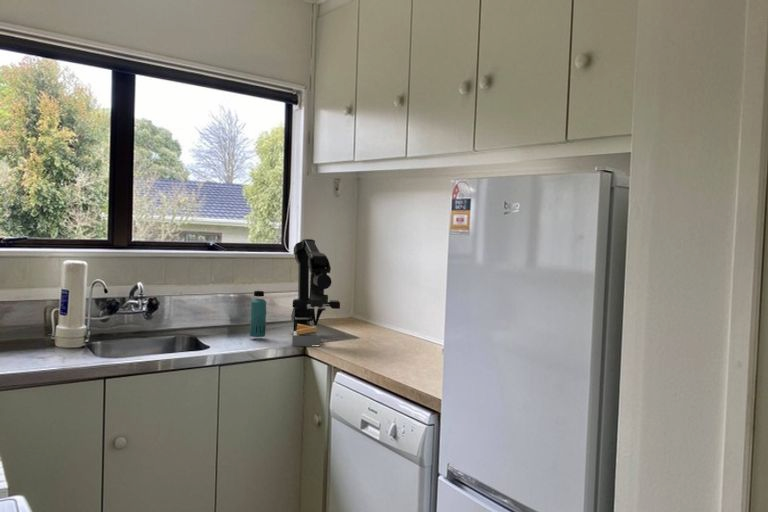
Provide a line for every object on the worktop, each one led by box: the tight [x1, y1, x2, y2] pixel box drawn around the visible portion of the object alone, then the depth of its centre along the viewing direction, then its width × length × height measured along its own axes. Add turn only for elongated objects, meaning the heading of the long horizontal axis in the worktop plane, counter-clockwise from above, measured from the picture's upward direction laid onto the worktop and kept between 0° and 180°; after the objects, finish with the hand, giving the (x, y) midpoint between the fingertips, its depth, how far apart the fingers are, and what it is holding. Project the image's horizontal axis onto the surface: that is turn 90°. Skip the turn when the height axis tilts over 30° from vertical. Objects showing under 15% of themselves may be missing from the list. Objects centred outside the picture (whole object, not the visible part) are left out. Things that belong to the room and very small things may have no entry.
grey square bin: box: [291, 331, 322, 347], centre depth 233 cm, size 11×11×5 cm
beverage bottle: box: [249, 290, 267, 338], centre depth 236 cm, size 6×7×20 cm
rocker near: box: [296, 325, 318, 335], centre depth 230 cm, size 8×4×2 cm, turn 97°
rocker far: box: [297, 324, 317, 333], centre depth 235 cm, size 8×4×2 cm, turn 98°
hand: (315, 325), depth 230 cm, fingers closed
